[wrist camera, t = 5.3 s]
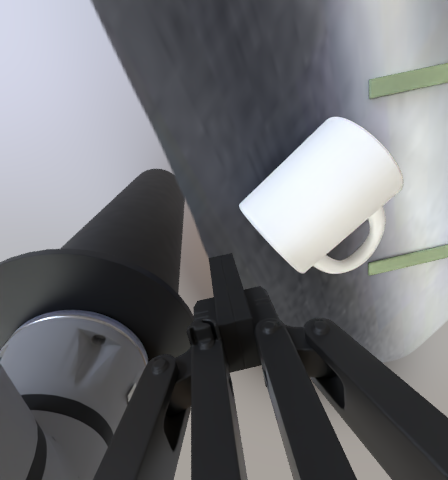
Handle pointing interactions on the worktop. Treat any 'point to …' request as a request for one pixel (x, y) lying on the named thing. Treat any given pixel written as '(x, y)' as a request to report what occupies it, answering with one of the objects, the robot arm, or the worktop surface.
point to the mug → (326, 197)
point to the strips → (393, 86)
